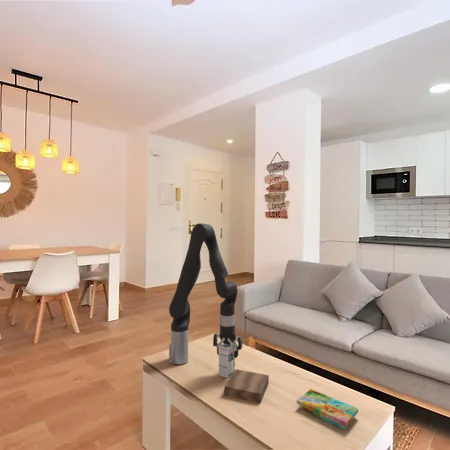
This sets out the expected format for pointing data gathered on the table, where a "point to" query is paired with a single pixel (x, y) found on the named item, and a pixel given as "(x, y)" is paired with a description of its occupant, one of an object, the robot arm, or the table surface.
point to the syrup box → (226, 360)
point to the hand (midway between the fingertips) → (227, 356)
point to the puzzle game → (328, 408)
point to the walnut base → (247, 385)
